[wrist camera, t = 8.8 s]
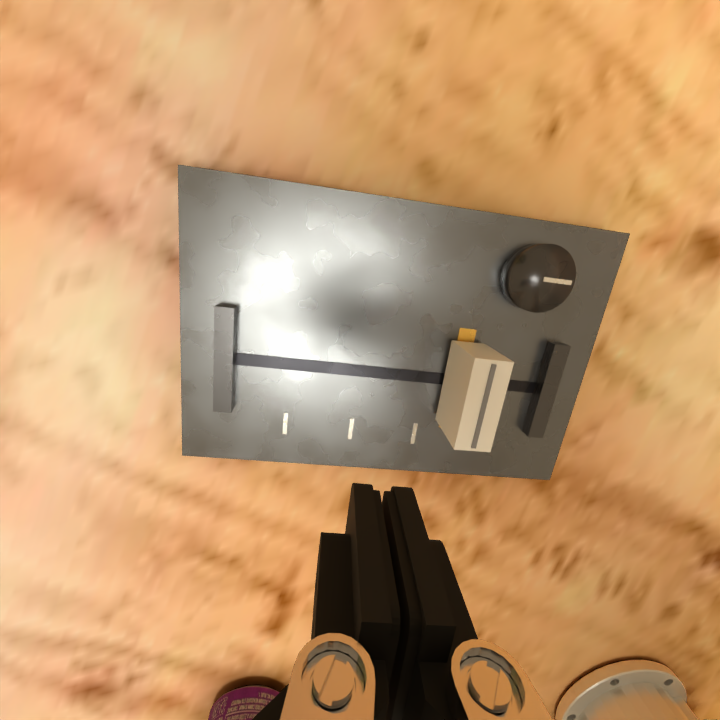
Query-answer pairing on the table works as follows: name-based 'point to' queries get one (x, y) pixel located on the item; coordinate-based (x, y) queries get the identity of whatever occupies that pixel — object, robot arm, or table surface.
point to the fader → (473, 395)
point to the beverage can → (242, 703)
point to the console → (375, 323)
